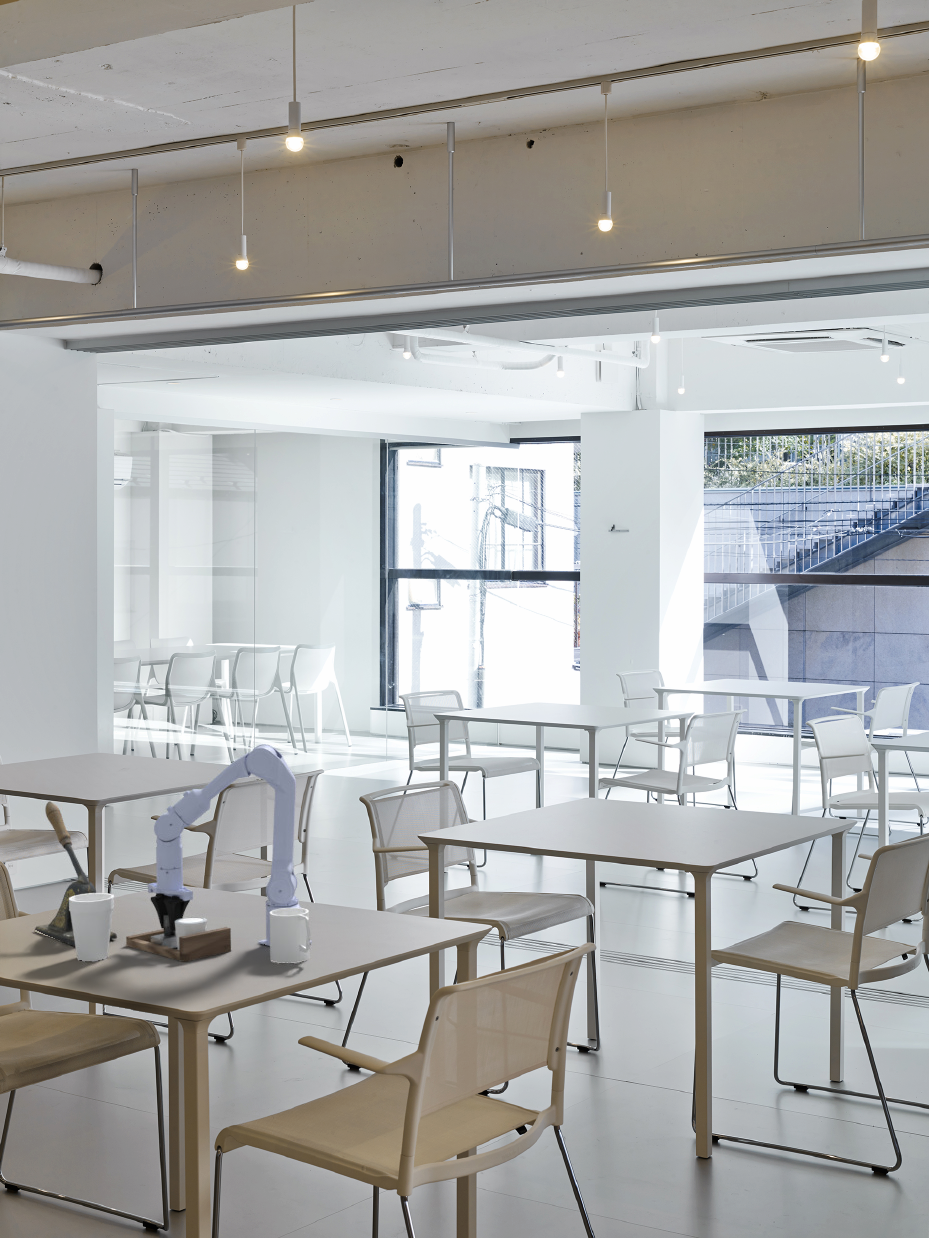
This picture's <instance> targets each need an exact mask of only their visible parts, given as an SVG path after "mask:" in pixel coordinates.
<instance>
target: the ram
mask: <svg viewBox="0 0 929 1238" xmlns="http://www.w3.org/2000/svg"><path fill="white" fill-rule="evenodd" d="M163 917H164V928H163V929H164V934H160V935H155V936H151V943H154V944H158V945H161V946H165V947H169V948H172V949H176V948H178V947H177V937H176V930H175V931H171V930H170V925H169V916H168V913H166V914H164V915H163Z"/></svg>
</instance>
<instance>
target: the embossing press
mask: <svg viewBox="0 0 929 1238" xmlns="http://www.w3.org/2000/svg"><path fill="white" fill-rule="evenodd" d="M45 815H46V818H47V820H48V821H49V822H48V823H50V825H51V826H52V828H53V829H54V832H55V835H56V836H57V839H58V842H59V843H60V845H61V847H62V848H63V849H65V850H66V853H67V855H68V856H69V859H70V862H71V865H72V866H73V868H74V870H75V873H76V875H77V880H76V881H74V882H72V883H70V884H69V886H67V888H66V890H65V892H64V895H63V899H62V901H61V904H60V907H59V909H58V911H57V913H56V914H55V916H54V918H53V919H52V920H51V921H50V923H47V924H42V925H38V926H35V928H34V931H35V930H37V931H39V932H41V933H43V934H45V935H48V936H50V937H53V938H55V939H58V940H60V941H59V942H61V941H62V942H61V943H64V942H65V943H64V944H67V945H70V946H74V947H75V940H74V933H73V926H72V920H71V913H70V911H69V898H70V897H72V896H76V895H80V894H88V893H97V890H96V886H94V884H93V883H92V882H91V881H89V879H88V876H87V875H86V872H84V870H83V867H82V866H81V864H80V861H79V859H78V857H77V856H76V854H75V851H74V850H73V847H72V845H73V843H72V838H71V835H70V833H69V831H68V830H67V828H66V826H65V825H66V824H65V823H64V819H63V816H62V813H61V810H60V809H59V807H58V806H57V805H56V804H55V803H53V802H52V801H47V803H46V805H45ZM117 938H118V936H117V934H116V932H113V931H110V940H116V939H117ZM55 939H54V940H55ZM58 940H57V941H58Z"/></svg>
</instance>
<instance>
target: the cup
mask: <svg viewBox="0 0 929 1238" xmlns="http://www.w3.org/2000/svg"><path fill="white" fill-rule="evenodd" d="M309 913H310V911H309V909H307V908H304V909H303V907H302V908H281V909H276V910H272V911H270V946H269V954H270V955H269V956H270V957H269V959H271V960H273V961H277V962H281V963H282V962H285V963H287V962H288V963H291V962H297V961H302V960H306V959H308V958H309V959H310V949H311V948H310V947H311V945H310V944H311V943H310V941H311V925H310V919H309V918H310V917H309ZM271 960H270V961H271Z"/></svg>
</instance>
